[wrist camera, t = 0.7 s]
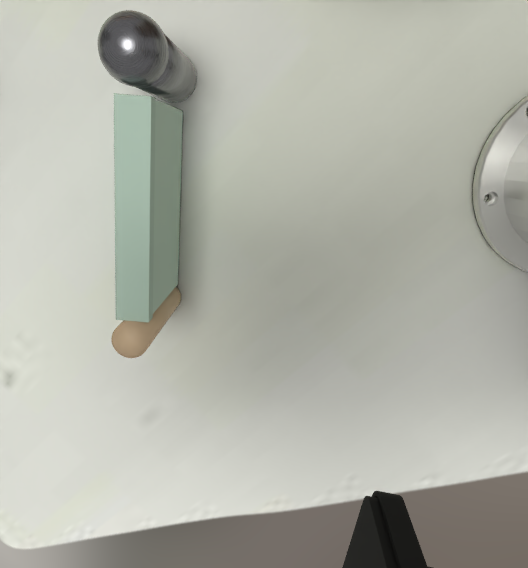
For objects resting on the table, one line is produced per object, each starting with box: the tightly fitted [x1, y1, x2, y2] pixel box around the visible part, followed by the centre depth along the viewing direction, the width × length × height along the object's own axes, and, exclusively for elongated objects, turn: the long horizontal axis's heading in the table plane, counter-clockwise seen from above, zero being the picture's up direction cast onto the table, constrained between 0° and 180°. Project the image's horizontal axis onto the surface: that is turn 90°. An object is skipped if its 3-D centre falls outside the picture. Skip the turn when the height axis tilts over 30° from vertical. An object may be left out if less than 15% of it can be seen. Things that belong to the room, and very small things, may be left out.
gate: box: [112, 93, 183, 358], centre depth 28 cm, size 14×2×8 cm, turn 176°
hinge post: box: [98, 10, 197, 102], centre depth 25 cm, size 3×3×10 cm
